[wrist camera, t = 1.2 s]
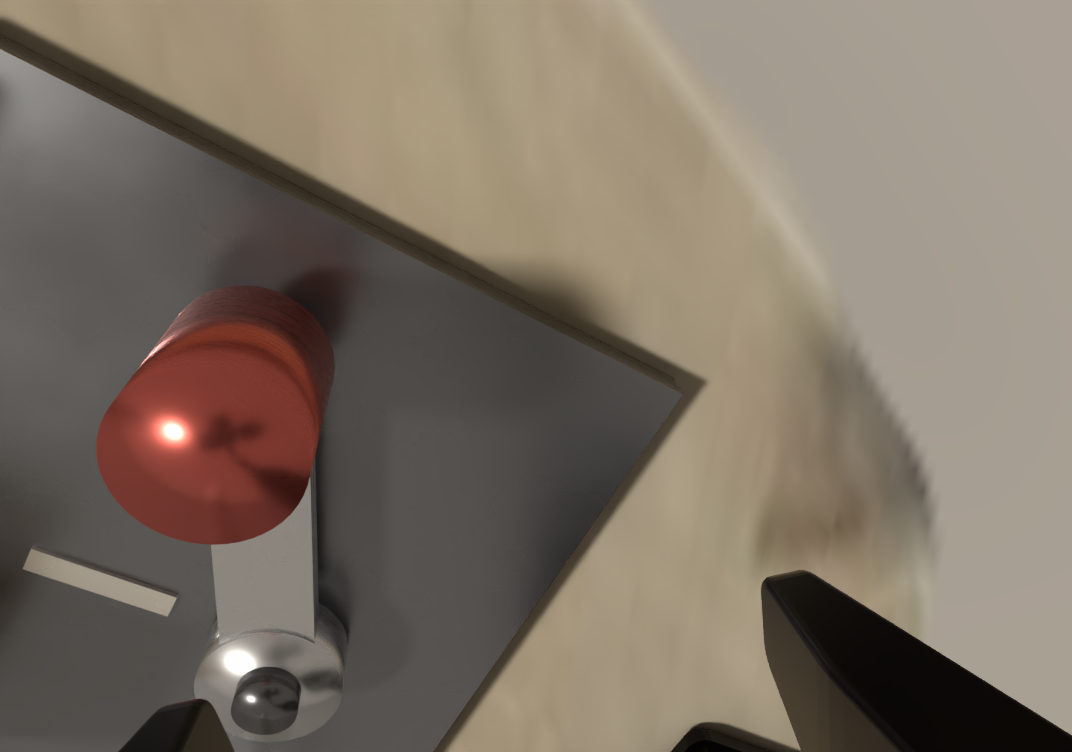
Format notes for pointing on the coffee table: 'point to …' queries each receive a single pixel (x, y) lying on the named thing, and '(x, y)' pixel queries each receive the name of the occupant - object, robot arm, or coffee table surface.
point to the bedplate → (343, 448)
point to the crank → (239, 496)
